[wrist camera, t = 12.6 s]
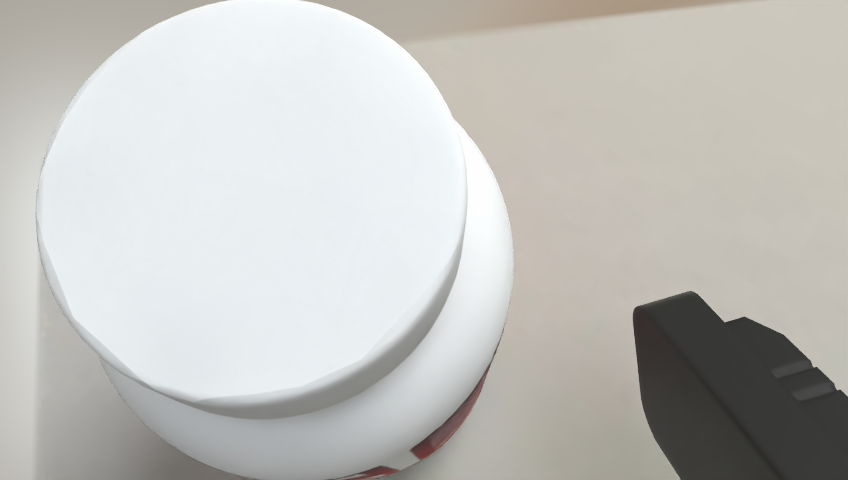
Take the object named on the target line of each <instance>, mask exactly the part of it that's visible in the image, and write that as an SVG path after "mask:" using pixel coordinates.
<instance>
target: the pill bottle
mask: <svg viewBox="0 0 848 480" xmlns="http://www.w3.org/2000/svg"><path fill="white" fill-rule="evenodd" d="M36 228H37V241H38V247H39V252H40V258H41V262H42V266H43V269H44V273H45V276H46V279H47V281H48V284H49V286H50V289H51V291H52V294H53V295H54V297H55V299H56V301H57V303H58V305H59V307H60V309H61V310H62V312H63V314H64V316H65V317H66V318H67V320H68V321H69V323H70V324H71V326H72V327H73V328H74V330H75V331H76V332H77V333H78V335H79V336H80V337H81V338H82V340H83V341H84V342H85V343H86V344H87V345H88V346H90V347H91V348H92V349H93V350H94V351H95V352H96V353H97V354H98V356H99V359H100V361H101V364H102V366H103V368H104V370H105V372H106V374H107V375H108V377H109V379H110V381H111V382H112V384H113V385H114V387H115V389H116V390H117V392H118V393H119V395H120V396H121V397H122V399H123V400H124V401H125V403H126V404H127V405H128V406H129V408H130V409H131V410H132V411H133V412H134V413H135V414H136V415H137V416H138V417H139V418H140V419H141V420H142V421H143V422H144V423H145V424H146V426H147V427H148V428H149V429H151V430H152V431H153V432H154V433H156V434H157V435H158V436H159V437H161V438H162V439H163V440H165V441H166V442H168V443H169V444H171V445H172V446H174V447H175V448H177V449H178V450H180V451H181V452H183V453H185V454H186V455H188V456H190V457H192V458H194V459H196V460H198V461H200V462H202V463H204V464H206V465H208V466H211V467H213V468H216V469H219V470H221V471H224V472H228V473H232V474H235V475H239V476H243V477H248V478H254V479H260V480H363V479H372V478H377V477H381V476H386V475H390V474H392V473H395V472H398V471H400V470H403V469H404V468H406V467H408V466H411V465H413V464H415V463H417V462H419V461H420V460H422V459H424V458H426V457H428V456H429V455H430V454H432V453H433V452H435V451H436V450H437V449H439V448H440V447H441V446H442V445H443V444H444V443H445V442H446V441H447V440H448V439H449V438H450V437H451V436H452V435H453V434H454V433H455V432H456V430H457V429H458V428H459V427H460V426H461V424H462V423H463V422H464V420H465V419H466V417H467V416H468V414H469V413H470V411H471V410H472V408H473V406H474V404H475V403H476V401H477V398H478V396H479V394H480V392H481V389H482V387H483V384H484V381H485V378H486V375H487V372H488V370H489V368H490V365H491V363H492V361H493V357H494V355H495V353H496V350H497V347H498V345H499V342H500V339H501V336H502V333H503V330H504V326H505V324H506V319H507V314H508V309H509V304H510V298H511V292H512V285H513V273H514V258H513V240H512V233H511V227H510V221H509V216H508V212H507V209H506V205H505V202H504V199H503V196H502V194H501V191H500V189H499V186H498V184H497V181H496V179H495V176H494V174H493V172H492V170H491V169H490V167H489V165H488V163H487V161H486V159H485V158H484V156H483V155H482V153H481V152H480V150H479V149H478V147H477V146H476V144H475V143H474V142H473V141H472V139H471V138H470V137H469V136H468V134H467V133H466V132H465V131H464V129H463V128H462V127H461V126H460V125H459V124H458V123H457V122H456V121H455V120H454V119H453V117H452V115H451V112H450V110H449V108H448V106H447V105H446V103H445V101H444V99H443V97H442V96H441V94H440V92H439V90H438V89H437V87H436V86H435V84H434V83H433V81H432V80H431V78H430V77H429V75H428V74H427V73H426V72H425V71H424V69H423V68H422V67H421V66H420V65H419V64H418V63H417V61H416V60H415V59H414V58H412V57H411V56H410V55H409V54H408V53H407V52H406V51H405V50H404V49H403V48H402V47H400V46H399V45H398V44H397V43H396V42H395V41H393V40H392V39H391V38H389V37H387V36H386V35H385V34H383V33H382V32H380V31H379V30H378V29H376V28H374V27H373V26H371V25H369V24H367V23H365V22H363V21H361V20H359V19H357V18H355V17H353V16H351V15H348V14H346V13H344V12H342V11H339V10H335V9H332V8H329V7H326V6H323V5H320V4H316V3H311V2H306V1H300V0H229V1H223V2H219V3H214V4H210V5H205V6H201V7H198V8H195V9H192V10H189V11H187V12H184V13H182V14H179V15H177V16H174V17H172V18H170V19H167V20H166V21H163V22H161V23H158V24H157V25H155V26H153V27H151V28H149V29H147V30H146V31H144V32H142V33H141V34H139V35H138V36H136V37H135V38H134V39H132V40H131V41H129V42H128V43H126V44H125V45H123V46H122V47H121V48H120V49H119V50H118V51H116V52H115V53H114V54H113V55H111V56H110V57H109V58H108V59H107V60H106V61H105V62H104V63H103V64H102V65H101V66H100V67H99V68H98V69H97V70H96V71H95V72H94V73H93V74H92V75H91V76H90V77H89V79H87V81H86V82H85V83H84V84H83V85H82V86H81V88H80V89H79V91H78V92H77V94H76V95H75V97H74V98H73V100H72V101H71V103H70V104H69V106H68V107H67V109H66V111H65V112H64V114H63V116H62V117H61V119H60V121H59V123H58V125H57V127H56V129H55V131H54V133H53V136H52V138H51V141H50V143H49V146H48V149H47V151H46V154H45V157H44V161H43V165H42V169H41V173H40V179H39V184H38V189H37V199H36Z"/></svg>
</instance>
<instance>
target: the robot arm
mask: <svg viewBox="0 0 848 480" xmlns="http://www.w3.org/2000/svg"><path fill="white" fill-rule="evenodd" d="M633 326H634V336H635V345H636V354H637V364H638V373H639V382H640V392H641V400H642V405H643V409H644V412H645V415H646V419H647V421H648V424H649V427H650V429H651V431H652V433H653V436H654V438H655V440H656V441H657V443H658V445H659V446H660V448H661V450H662V451H663V453H664V454H665V456H666V457H667V459H668V460H669V462H670V463H671V465H672V466H673V468H674V469H675V471H676V473H677V474H678V476H679V477H680V479H681V480H848V397H847V396H846V395H845V394H844V393H843V392H842V391H841V390H838V391H837V390H836V388H835V385H834V383H833V382H832V381H831V380H830V379H829V378H828V377H827V376H826V375H825V374H824V373H823V372H822V371H821V370H819V369H818V368H817V367H815V368H814V367H813V366H812V364H811V361H810V360H809V359H808V358H807V357H806V356H805V355H804V354H803V353H802V352H801V351H800V350H799V349H798V348H797V347H796V346H795V345H794V344H792V343H791V342H790V341H789V340H788V339H787V338H786V337H785V336H784V335H783V334H781V333H778V332H776V331H774V330H772V329H770V328H768V327H766V326H763V325H761V324H759V323H757V322H755V321H753V320H751V319H748V318H746V317H742V318H739V319H735V320H732V321H729V322H725V323H724V321H723V320H722V319H721V318H720V317H719V316H718V315H717V314H716V313H715V312H714V311H713V310H712V309H711V308H710V307H709V306H708V305H707V303H706V302H705V301H704V300H703V299H702V298H701V297H700V296H699V295H698V294H696V293H695V292H692V291H688V292H685V293H682V294H678V295H675V296H671V297H668V298H665V299H661V300H658V301H654V302H651V303H648V304H644V305H641V306H638V307H636V308H635V309H634V312H633Z"/></svg>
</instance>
